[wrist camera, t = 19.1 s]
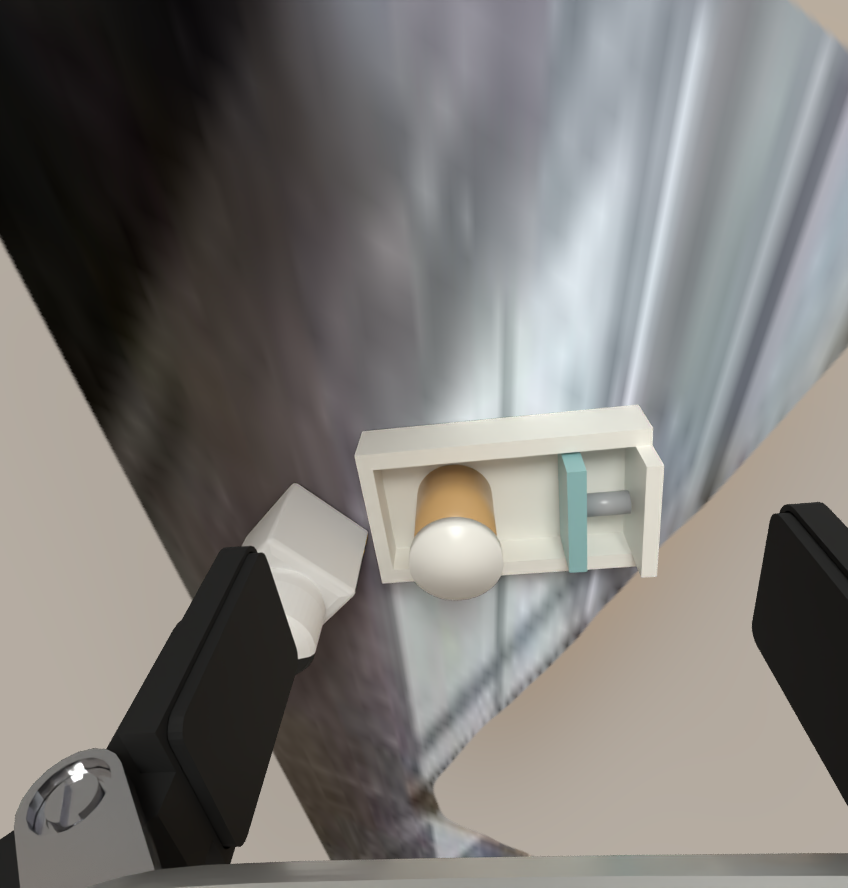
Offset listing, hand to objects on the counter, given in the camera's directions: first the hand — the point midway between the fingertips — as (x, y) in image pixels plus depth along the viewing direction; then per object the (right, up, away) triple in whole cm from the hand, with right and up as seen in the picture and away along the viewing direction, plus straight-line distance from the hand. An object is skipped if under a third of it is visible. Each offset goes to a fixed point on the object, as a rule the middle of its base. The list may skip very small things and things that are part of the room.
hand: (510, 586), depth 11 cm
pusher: (+10, 0, +30) cm, 32 cm away
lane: (+4, 0, +32) cm, 33 cm away
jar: (+1, -1, +32) cm, 32 cm away
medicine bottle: (-11, -4, +36) cm, 37 cm away
